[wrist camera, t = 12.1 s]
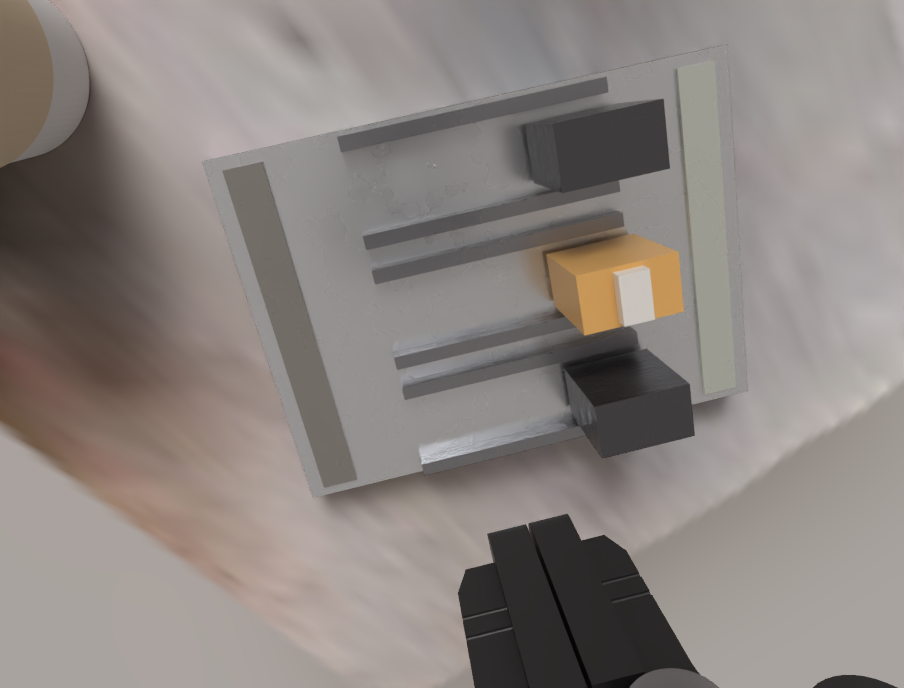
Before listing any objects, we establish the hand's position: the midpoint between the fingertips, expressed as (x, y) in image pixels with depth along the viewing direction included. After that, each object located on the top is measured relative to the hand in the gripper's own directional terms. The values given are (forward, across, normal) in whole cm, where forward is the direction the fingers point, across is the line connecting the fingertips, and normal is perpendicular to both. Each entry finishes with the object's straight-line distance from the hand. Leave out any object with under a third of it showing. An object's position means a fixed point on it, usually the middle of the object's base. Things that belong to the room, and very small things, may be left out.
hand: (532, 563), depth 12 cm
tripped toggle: (+18, -7, 0) cm, 19 cm away
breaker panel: (+20, -3, 0) cm, 20 cm away
